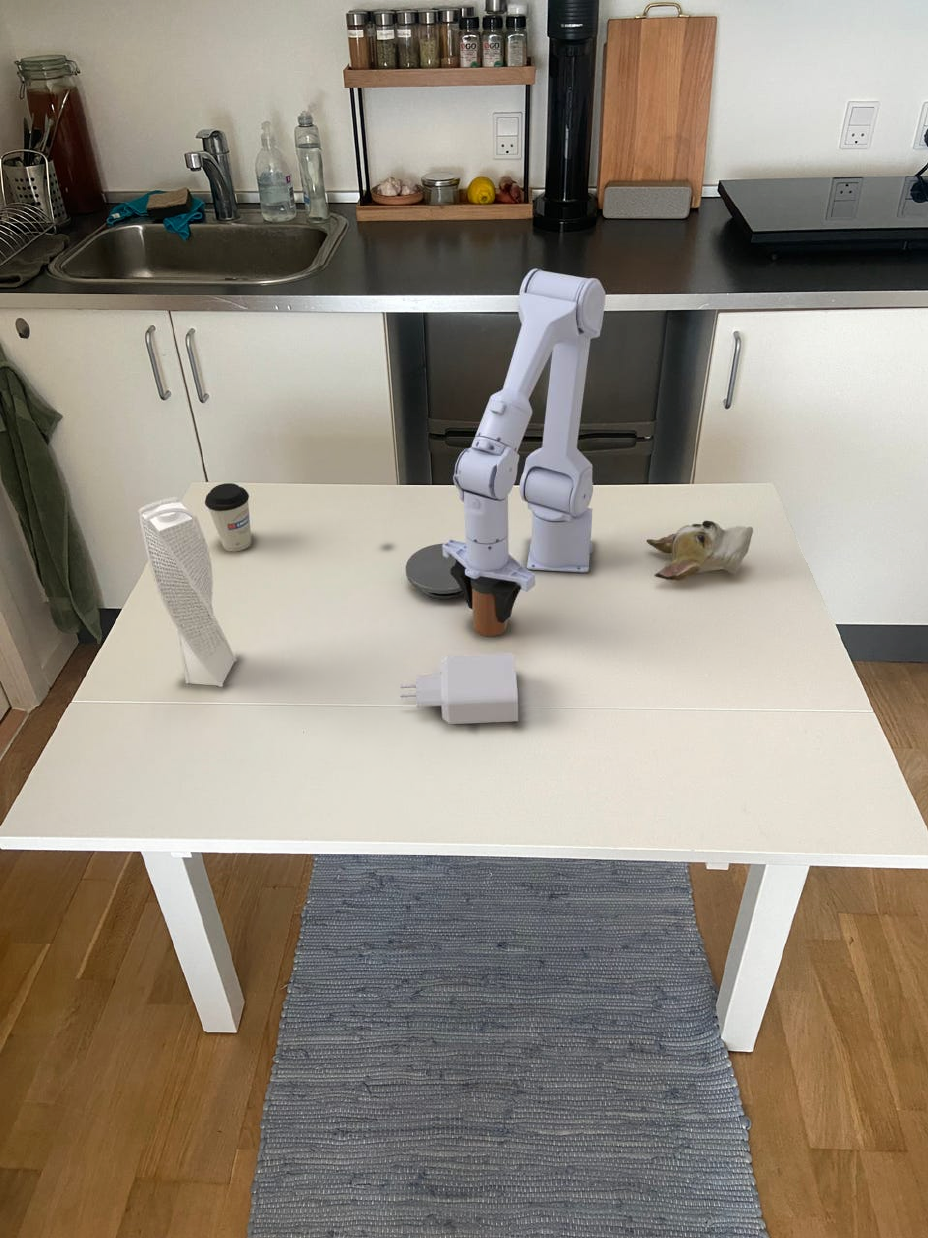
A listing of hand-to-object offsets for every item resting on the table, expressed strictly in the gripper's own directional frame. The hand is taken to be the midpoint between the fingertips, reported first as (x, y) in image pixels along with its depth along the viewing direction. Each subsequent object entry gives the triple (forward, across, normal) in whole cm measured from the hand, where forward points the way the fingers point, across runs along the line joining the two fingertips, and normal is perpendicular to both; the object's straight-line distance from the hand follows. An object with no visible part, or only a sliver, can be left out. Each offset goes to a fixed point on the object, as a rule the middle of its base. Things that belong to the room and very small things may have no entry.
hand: (489, 611), depth 133 cm
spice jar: (+3, 0, 0) cm, 3 cm away
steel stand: (+3, -12, +5) cm, 13 cm away
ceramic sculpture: (+3, +18, +30) cm, 35 cm away
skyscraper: (+3, -25, -31) cm, 40 cm away
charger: (+3, +6, -15) cm, 16 cm away
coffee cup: (+3, -47, -7) cm, 47 cm away
